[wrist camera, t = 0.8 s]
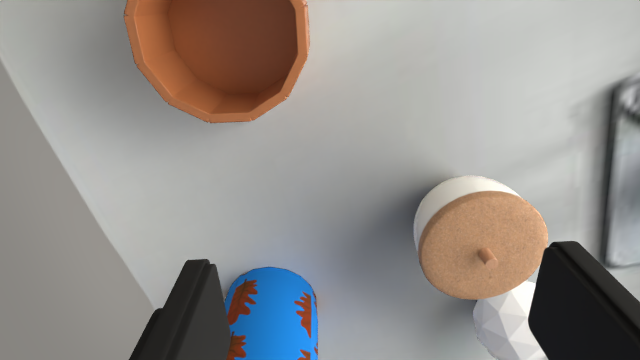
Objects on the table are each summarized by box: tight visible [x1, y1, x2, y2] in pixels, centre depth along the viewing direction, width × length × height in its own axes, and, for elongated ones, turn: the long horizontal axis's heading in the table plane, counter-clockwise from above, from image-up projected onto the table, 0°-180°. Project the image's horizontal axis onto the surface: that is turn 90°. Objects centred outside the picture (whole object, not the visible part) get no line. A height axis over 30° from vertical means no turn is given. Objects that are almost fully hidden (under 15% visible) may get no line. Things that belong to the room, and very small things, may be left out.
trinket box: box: [414, 175, 548, 299], centre depth 36 cm, size 11×11×9 cm
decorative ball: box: [472, 280, 548, 360], centre depth 42 cm, size 9×10×12 cm
